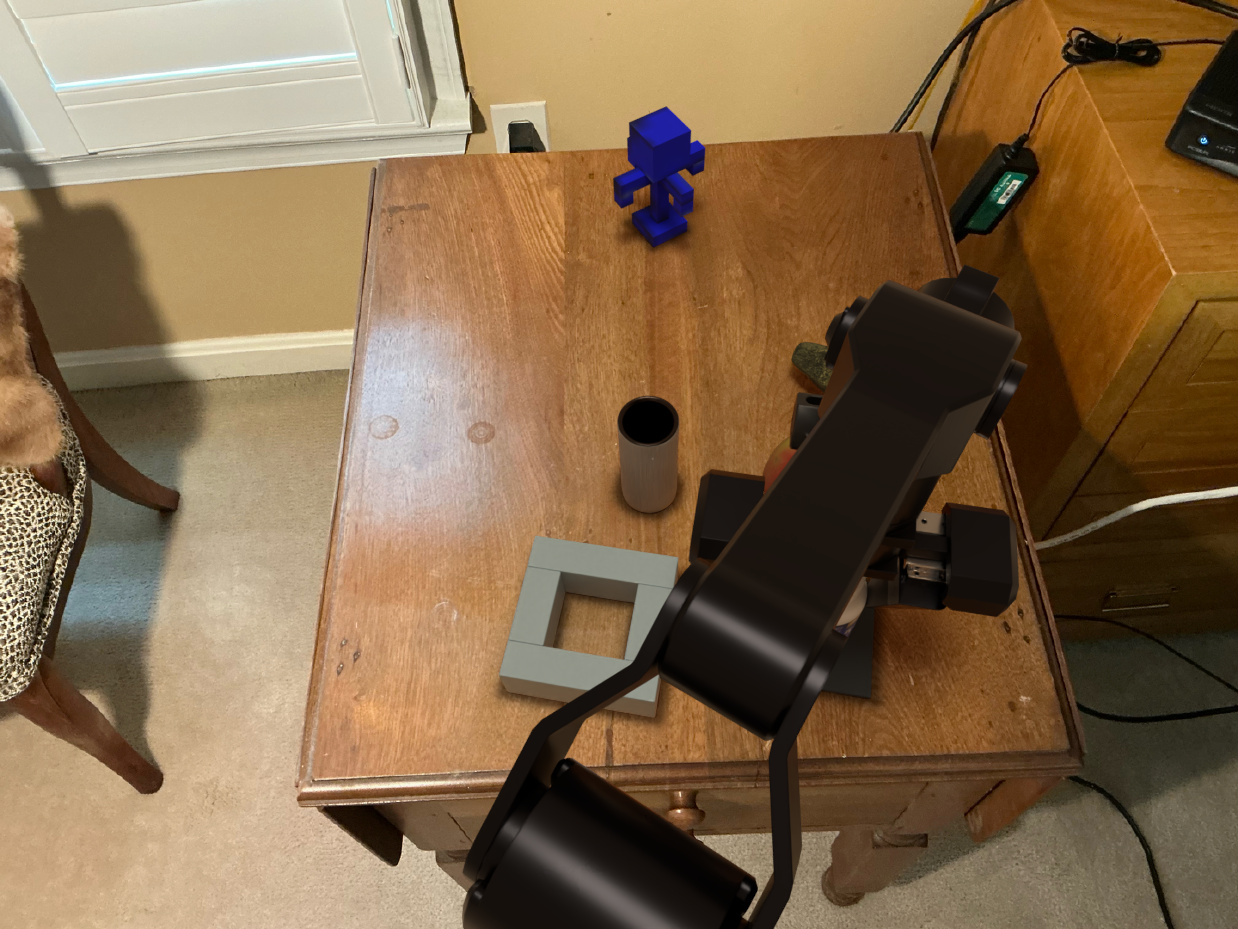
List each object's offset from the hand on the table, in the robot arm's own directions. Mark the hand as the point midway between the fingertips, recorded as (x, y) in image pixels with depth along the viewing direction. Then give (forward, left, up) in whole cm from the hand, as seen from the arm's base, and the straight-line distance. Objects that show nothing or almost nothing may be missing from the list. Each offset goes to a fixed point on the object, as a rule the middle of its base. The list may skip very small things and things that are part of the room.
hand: (826, 594), depth 60 cm
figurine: (+40, +18, -7) cm, 45 cm away
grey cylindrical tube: (+10, +14, -7) cm, 19 cm away
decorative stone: (+22, -2, -7) cm, 23 cm away
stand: (-3, +16, -7) cm, 18 cm away
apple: (+11, +1, -7) cm, 13 cm away
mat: (0, 0, -7) cm, 7 cm away
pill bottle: (0, 0, -5) cm, 5 cm away
